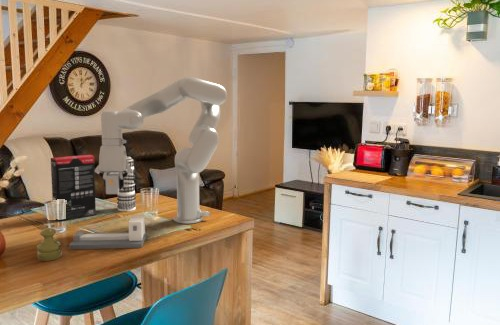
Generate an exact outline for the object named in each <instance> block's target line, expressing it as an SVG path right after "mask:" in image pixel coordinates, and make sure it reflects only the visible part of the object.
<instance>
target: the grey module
mask: <svg viewBox="0 0 500 325" xmlns="http://www.w3.org/2000/svg"><path fill="white" fill-rule="evenodd" d="M119 179H120V176H119V173H115V172H109V173H108V175H106V176H105V182H106V187H105V194H106V195H118V194H119V190H122V189H119Z"/></svg>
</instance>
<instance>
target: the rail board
mask: <svg viewBox="0 0 500 325" xmlns="http://www.w3.org/2000/svg"><path fill="white" fill-rule="evenodd" d="M147 236H148V232H147V231H146V220H145V215H132V216H131V218H130V219H129V221H128V232H127V231H125V232H122V231H121V232H86V233H84V230H78V231H76V232H75V233H74V234H73V240H72V241H71V242H70V243H69V244H68V249H69V250H96V249H101V250H102V249H104V250H105V249H128V248H129V249H136V248H141V249H142V248H143V245H144V243H145V242H146V239H147Z"/></svg>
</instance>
